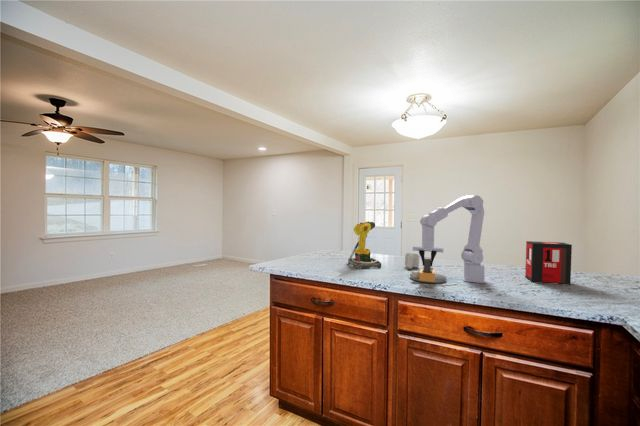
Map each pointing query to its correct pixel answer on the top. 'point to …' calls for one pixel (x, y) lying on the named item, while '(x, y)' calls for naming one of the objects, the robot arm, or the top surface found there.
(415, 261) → the grey rounded block
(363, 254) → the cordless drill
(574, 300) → the top surface
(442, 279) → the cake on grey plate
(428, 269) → the wedge
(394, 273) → the top surface
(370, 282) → the top surface
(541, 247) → the cleaning product box
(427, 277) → the bracket
